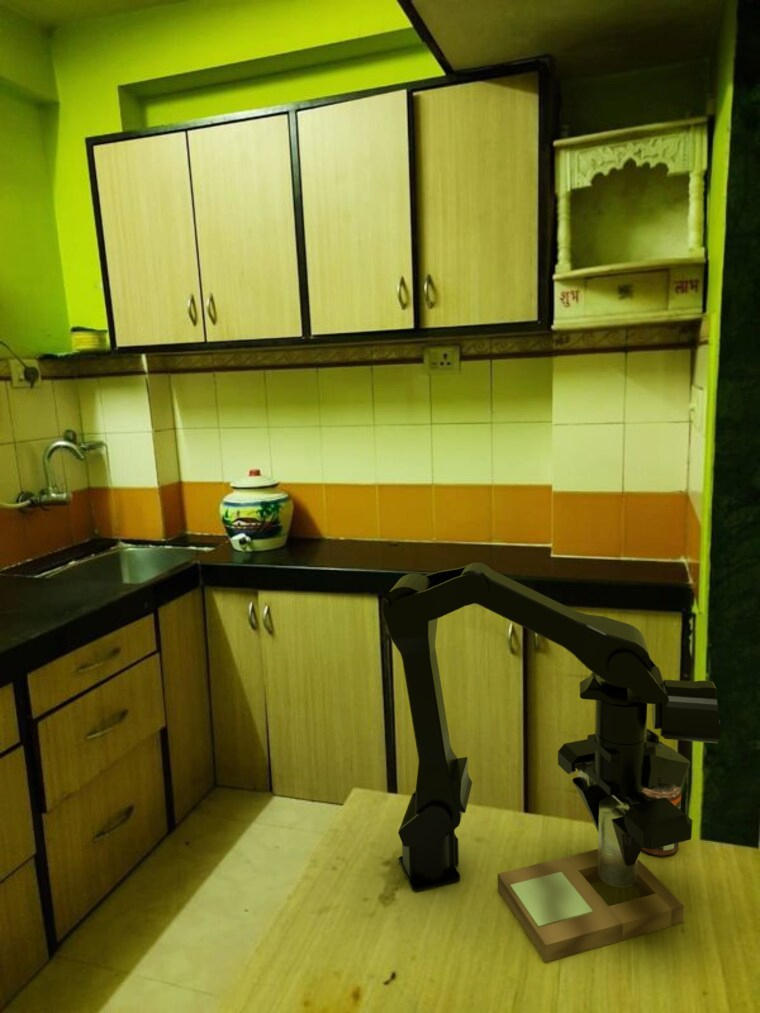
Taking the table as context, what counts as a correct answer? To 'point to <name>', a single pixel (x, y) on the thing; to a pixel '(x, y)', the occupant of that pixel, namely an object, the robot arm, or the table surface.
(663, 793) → the supplement bottle
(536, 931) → the pocket block
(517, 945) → the table surface
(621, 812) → the clear glass jar
